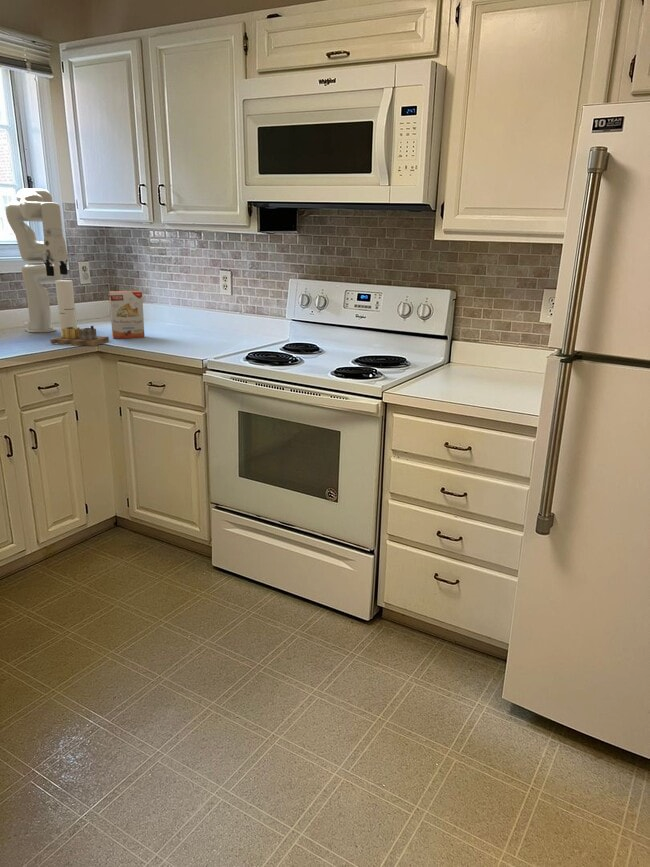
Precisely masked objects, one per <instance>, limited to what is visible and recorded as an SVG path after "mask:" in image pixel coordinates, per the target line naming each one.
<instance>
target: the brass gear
mask: <svg viewBox="0 0 650 867" xmlns="http://www.w3.org/2000/svg"><path fill="white" fill-rule="evenodd" d="M79 329H80V327H78V326H77V327H73V329H68V328H63V329H62V335H63V338H66V339H70V338H71V339H75V338H79Z"/></svg>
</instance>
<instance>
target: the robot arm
mask: <svg viewBox="0 0 650 867" xmlns="http://www.w3.org/2000/svg"><path fill="white" fill-rule="evenodd" d="M16 200H17V201H13V202H10V203H8V204H6V206H5V215H6V220H7V222H8V224H9V226H10V227H11V228H10V229H11V230H12V232H13V233H14V236H15V238H16V243H17V246H18V250H19V254H20V257H21V259H22V261H24V262H26V264H24V265H23V266H22V267H21V275H22V280H23V283H24V287H25V292H26V299H27V309H28V318H29V321H25V322H24V323H23V326H24V327H28V328H27V329H26V330H27V332H28V333H35V334H36V333H37V334H39V333H42V334H43V333H51V332H55V331H57V330H56V329H57V328H56V327H54V326H53V323H52V315H51V306H50V296H49V292H48V290H47V289H45V287H44V286H43V285H51V284H56V283H55V281H57V280H63V276H64V275H66V276H67V275H68V266H67V265H68V260H69V254H68V251H67V245H66V241H65V238H64V234H63V224H62V223H63V222H62V215H61V205H60V204H59V203H58V202H53V197H52V195H51V193H50V191H48V189H43V188H21V189H20V190H18V191H17V194H16ZM25 222H37V223H38V222H42V225H41V226H42V233H43V241H38V240H37V237H36V233H35V231H34V229H32V227H31V226H29V225H28V224H27V223H25Z"/></svg>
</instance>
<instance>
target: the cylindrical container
mask: <svg viewBox="0 0 650 867" xmlns="http://www.w3.org/2000/svg"><path fill="white" fill-rule="evenodd" d="M73 282H74V281H73V280H70V279H68V280H67V279H62V280H57V281H55V283H54V284H55V292H56V301H57V310H58V319H59V327H60V337H61V336H63V335H62V329H63V328H68V327H77V328H78V324H77V317H76V316H77V314H76V305H75V295H74V294H75V293H74V284H73Z"/></svg>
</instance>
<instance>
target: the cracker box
mask: <svg viewBox="0 0 650 867" xmlns="http://www.w3.org/2000/svg"><path fill="white" fill-rule="evenodd" d="M108 296H109V308H110V321H111V322H110V323H111V333H112V334H111V335H112V338H113V339H114V340H115V339H137V338H140V339H141V338H146V337H145V322H144V307H143V305H144V303H143V302H144V301H143V292H142V290H113V291H112V290H110V291H109V294H108Z"/></svg>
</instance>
